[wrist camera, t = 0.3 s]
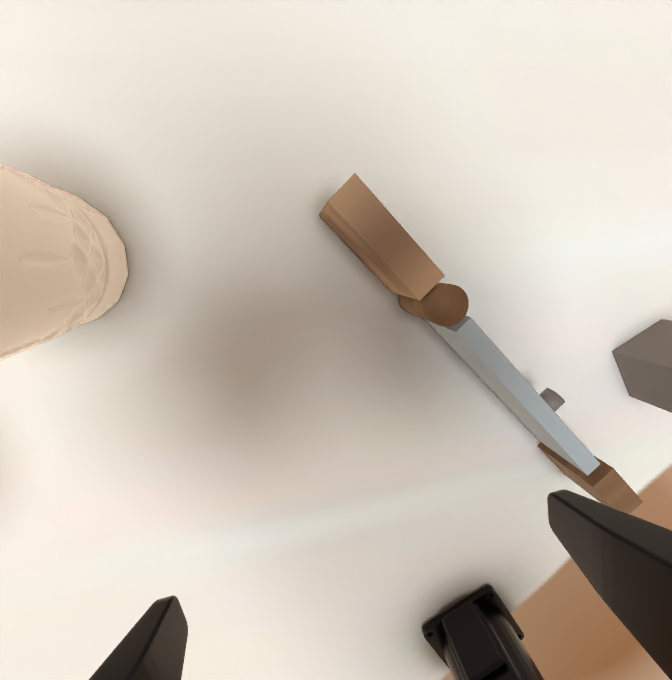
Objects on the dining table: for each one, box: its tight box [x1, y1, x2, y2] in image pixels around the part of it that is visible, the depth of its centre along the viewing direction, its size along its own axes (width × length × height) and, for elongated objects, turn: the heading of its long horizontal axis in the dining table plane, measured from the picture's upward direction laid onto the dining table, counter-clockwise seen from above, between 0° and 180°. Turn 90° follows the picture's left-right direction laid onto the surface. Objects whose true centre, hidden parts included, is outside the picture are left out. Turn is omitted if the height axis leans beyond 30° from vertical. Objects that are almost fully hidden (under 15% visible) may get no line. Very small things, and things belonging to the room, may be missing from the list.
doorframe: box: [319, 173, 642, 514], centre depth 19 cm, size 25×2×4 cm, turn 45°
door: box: [426, 316, 600, 475], centre depth 20 cm, size 13×2×4 cm, turn 45°
